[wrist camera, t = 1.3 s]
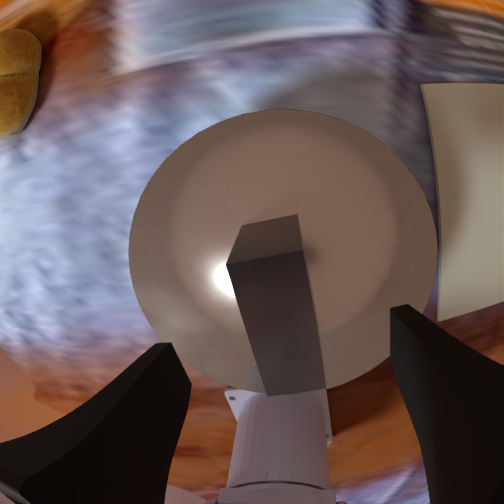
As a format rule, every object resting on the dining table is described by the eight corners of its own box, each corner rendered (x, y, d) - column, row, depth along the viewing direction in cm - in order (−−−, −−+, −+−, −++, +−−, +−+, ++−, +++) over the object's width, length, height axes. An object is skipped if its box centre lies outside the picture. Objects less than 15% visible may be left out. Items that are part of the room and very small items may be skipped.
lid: (424, 356, 17) (451, 415, 12) (191, 392, 19) (172, 452, 15) (410, 88, 11) (467, 76, 7) (100, 162, 14) (33, 182, 9)
